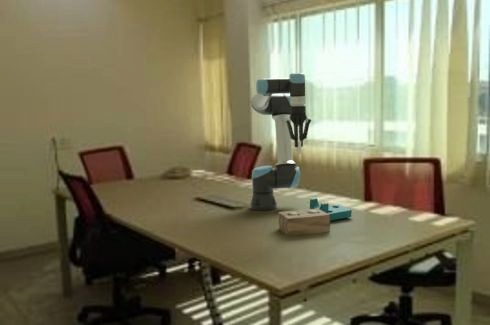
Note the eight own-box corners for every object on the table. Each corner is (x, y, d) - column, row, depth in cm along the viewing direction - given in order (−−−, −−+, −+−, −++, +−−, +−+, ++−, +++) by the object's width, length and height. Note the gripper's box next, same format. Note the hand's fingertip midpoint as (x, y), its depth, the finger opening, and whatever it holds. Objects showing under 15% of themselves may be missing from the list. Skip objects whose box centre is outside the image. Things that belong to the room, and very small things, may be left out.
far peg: (308, 227, 251) (307, 210, 250) (316, 226, 252) (315, 210, 251) (311, 229, 248) (311, 212, 246) (319, 228, 249) (319, 211, 247)
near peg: (288, 229, 249) (287, 212, 248) (296, 228, 250) (296, 212, 249) (291, 231, 245) (290, 214, 244) (299, 230, 246) (299, 213, 245)
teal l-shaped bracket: (321, 224, 259) (322, 204, 257) (309, 218, 269) (310, 198, 267) (351, 219, 267) (352, 199, 265) (338, 213, 277) (338, 194, 275)
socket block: (279, 228, 253) (278, 212, 252) (318, 224, 258) (317, 208, 257) (288, 236, 240) (288, 218, 238) (329, 231, 245) (329, 214, 243)
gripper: (287, 106, 251) (288, 155, 254) (313, 105, 254) (314, 153, 257) (282, 105, 258) (283, 153, 261) (307, 104, 261) (308, 152, 265)
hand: (298, 153), depth 259 cm, fingers closed
